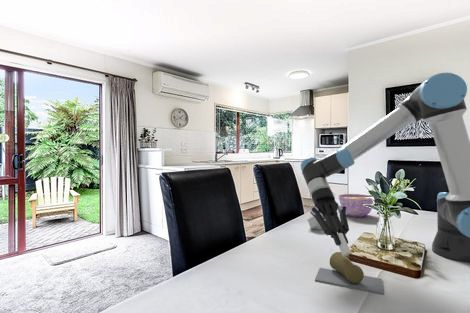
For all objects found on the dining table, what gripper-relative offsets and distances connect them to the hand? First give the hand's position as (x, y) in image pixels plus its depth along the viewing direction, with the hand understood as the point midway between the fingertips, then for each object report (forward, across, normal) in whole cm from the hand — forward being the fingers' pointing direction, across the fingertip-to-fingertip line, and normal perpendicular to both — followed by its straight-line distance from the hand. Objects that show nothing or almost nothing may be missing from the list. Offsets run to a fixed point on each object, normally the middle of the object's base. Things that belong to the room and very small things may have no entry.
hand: (346, 254), depth 80 cm
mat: (+6, +1, -4) cm, 7 cm away
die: (-31, -14, -41) cm, 53 cm away
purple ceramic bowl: (-46, -50, -56) cm, 88 cm away
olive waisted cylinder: (-1, 0, -6) cm, 7 cm away
